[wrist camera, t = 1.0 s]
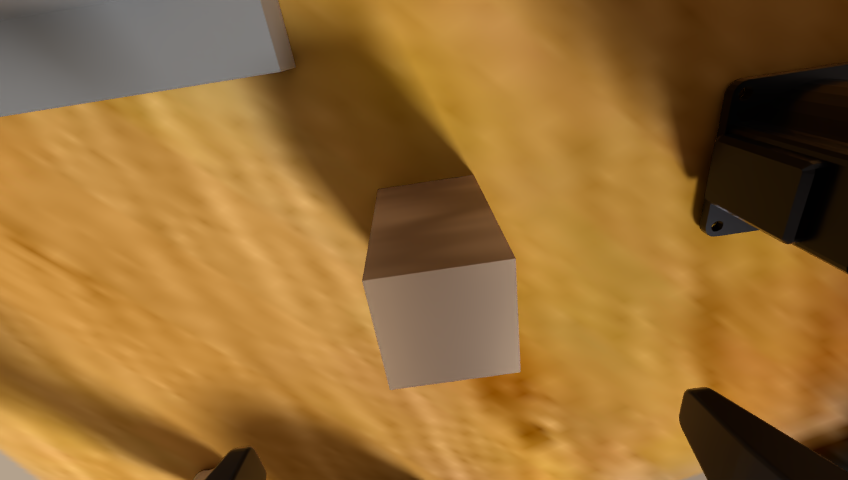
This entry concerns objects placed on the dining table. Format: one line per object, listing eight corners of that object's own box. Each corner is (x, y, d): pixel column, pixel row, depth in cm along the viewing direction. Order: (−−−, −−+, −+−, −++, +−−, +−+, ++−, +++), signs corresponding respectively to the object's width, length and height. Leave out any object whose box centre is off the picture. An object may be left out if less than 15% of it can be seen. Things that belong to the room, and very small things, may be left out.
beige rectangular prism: (473, 174, 17) (515, 258, 10) (481, 257, 18) (520, 372, 12) (378, 189, 17) (362, 280, 10) (394, 270, 18) (390, 390, 12)
